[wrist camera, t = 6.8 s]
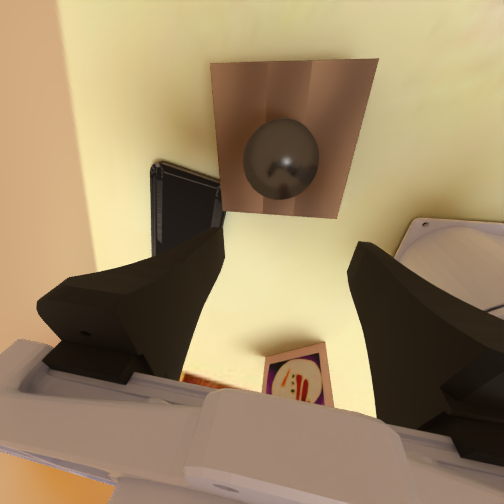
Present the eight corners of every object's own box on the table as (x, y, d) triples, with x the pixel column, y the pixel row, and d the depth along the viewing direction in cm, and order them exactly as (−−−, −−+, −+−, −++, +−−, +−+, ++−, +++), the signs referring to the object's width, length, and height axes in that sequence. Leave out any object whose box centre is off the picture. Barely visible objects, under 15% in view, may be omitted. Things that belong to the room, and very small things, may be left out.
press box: (358, 70, 14) (379, 58, 10) (329, 200, 19) (336, 218, 16) (228, 73, 15) (210, 63, 12) (234, 194, 20) (222, 210, 17)
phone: (230, 187, 19) (207, 291, 28) (233, 183, 20) (209, 285, 29) (148, 158, 19) (151, 273, 27) (155, 156, 20) (155, 267, 28)
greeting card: (322, 338, 31) (341, 488, 19) (344, 363, 33) (374, 507, 21) (262, 354, 36) (247, 478, 24) (286, 374, 39) (283, 495, 27)
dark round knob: (313, 115, 15) (326, 119, 9) (305, 171, 18) (312, 201, 12) (260, 114, 16) (241, 118, 10) (259, 169, 18) (243, 197, 12)
